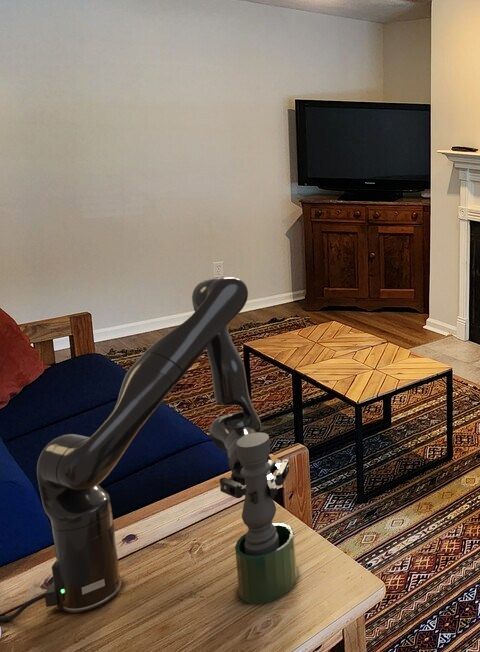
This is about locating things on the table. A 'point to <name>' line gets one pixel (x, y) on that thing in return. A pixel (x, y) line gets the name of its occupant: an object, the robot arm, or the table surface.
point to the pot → (267, 569)
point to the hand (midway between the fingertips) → (264, 496)
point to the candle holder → (259, 515)
